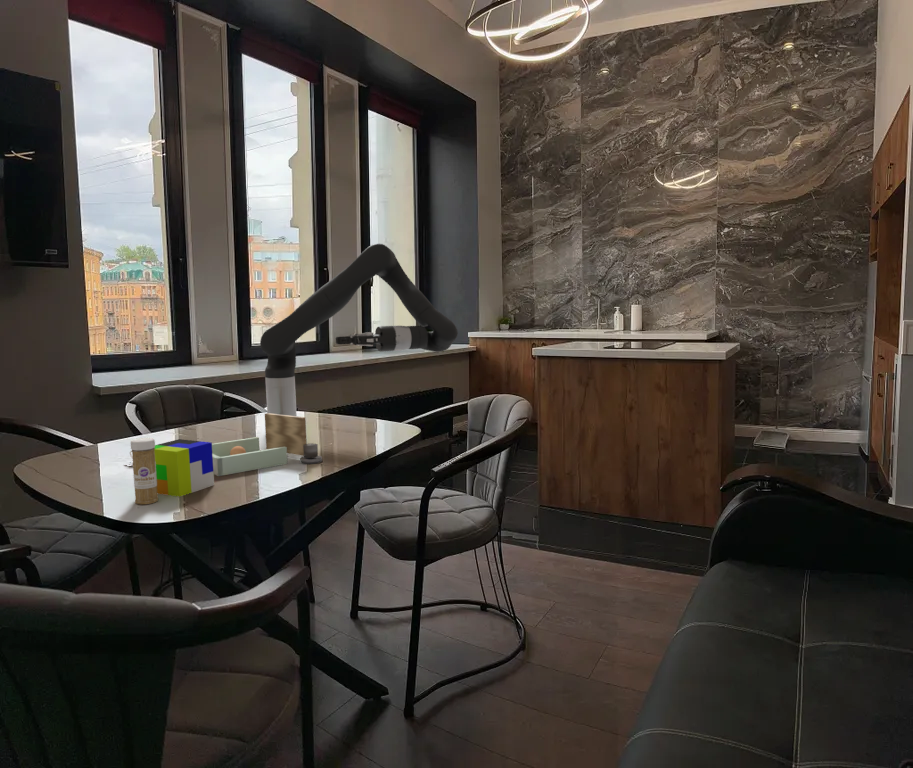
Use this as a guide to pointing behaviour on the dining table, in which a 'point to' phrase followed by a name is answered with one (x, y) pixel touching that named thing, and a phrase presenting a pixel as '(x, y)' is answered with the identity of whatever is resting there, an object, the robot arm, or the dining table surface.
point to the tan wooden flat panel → (288, 435)
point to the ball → (237, 450)
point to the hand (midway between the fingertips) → (336, 340)
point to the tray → (245, 456)
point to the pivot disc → (311, 460)
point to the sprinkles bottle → (144, 470)
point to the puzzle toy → (183, 467)
